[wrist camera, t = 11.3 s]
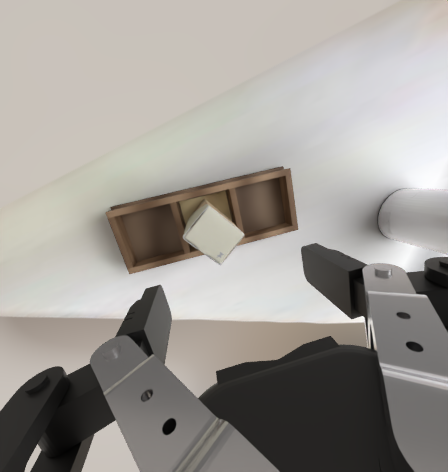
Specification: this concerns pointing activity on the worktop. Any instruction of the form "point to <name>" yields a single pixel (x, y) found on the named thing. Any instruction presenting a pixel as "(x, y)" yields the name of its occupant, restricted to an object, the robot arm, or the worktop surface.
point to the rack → (186, 202)
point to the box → (212, 232)
